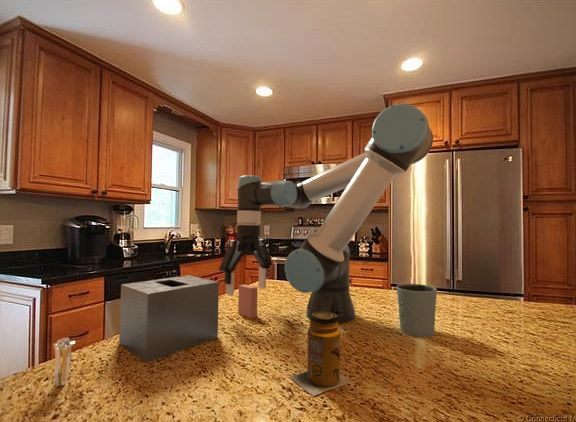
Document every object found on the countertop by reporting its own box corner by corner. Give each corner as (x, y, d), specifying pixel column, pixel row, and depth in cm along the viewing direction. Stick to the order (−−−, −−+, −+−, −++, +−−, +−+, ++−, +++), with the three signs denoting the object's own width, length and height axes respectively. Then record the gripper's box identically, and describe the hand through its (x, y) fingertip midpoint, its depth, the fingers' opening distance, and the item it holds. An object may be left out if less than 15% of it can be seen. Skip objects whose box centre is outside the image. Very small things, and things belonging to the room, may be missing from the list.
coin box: (217, 337, 76) (218, 281, 77) (145, 362, 63) (147, 293, 63) (187, 325, 86) (188, 275, 86) (119, 344, 72) (121, 284, 72)
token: (256, 316, 95) (257, 287, 95) (251, 317, 93) (251, 288, 93) (244, 312, 99) (244, 284, 99) (238, 313, 97) (238, 285, 97)
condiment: (349, 383, 56) (350, 316, 56) (313, 397, 51) (314, 324, 51) (324, 367, 62) (324, 307, 62) (289, 378, 57) (290, 313, 57)
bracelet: (58, 377, 56) (59, 333, 57) (78, 374, 58) (80, 331, 58) (44, 397, 50) (46, 347, 50) (67, 393, 51) (69, 345, 52)
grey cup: (442, 331, 83) (441, 287, 83) (429, 341, 75) (429, 293, 76) (405, 323, 90) (405, 282, 90) (390, 331, 82) (390, 287, 83)
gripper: (267, 224, 109) (266, 283, 108) (208, 223, 90) (206, 295, 89) (283, 225, 104) (281, 287, 103) (224, 224, 85) (222, 300, 85)
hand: (246, 291), depth 96 cm, fingers open, 13 cm apart
